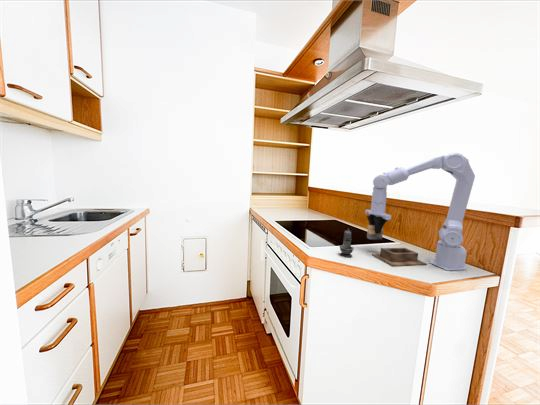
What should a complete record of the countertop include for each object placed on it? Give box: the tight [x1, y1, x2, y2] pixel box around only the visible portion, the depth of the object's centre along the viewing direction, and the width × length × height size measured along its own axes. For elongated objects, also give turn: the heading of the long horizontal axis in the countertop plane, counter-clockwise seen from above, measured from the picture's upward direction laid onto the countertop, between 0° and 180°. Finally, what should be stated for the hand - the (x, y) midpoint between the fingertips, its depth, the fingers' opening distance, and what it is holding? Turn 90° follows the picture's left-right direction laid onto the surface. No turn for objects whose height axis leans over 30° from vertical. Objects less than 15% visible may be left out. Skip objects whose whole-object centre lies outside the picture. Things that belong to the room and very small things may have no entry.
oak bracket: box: [366, 224, 384, 240], centre depth 100 cm, size 6×2×6 cm, turn 102°
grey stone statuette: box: [338, 228, 355, 259], centre depth 95 cm, size 6×6×12 cm
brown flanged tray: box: [371, 247, 427, 268], centre depth 93 cm, size 16×12×4 cm
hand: (375, 232), depth 100 cm, fingers closed on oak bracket, 2 cm apart
